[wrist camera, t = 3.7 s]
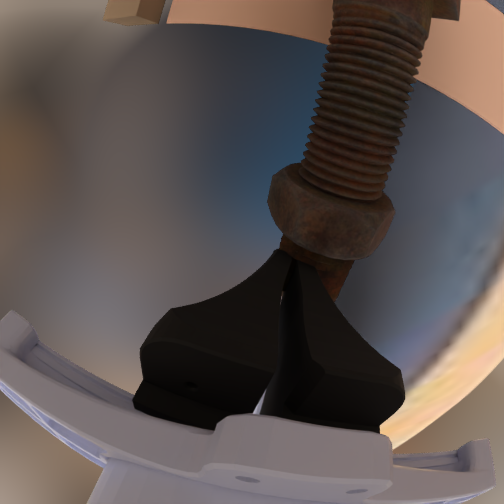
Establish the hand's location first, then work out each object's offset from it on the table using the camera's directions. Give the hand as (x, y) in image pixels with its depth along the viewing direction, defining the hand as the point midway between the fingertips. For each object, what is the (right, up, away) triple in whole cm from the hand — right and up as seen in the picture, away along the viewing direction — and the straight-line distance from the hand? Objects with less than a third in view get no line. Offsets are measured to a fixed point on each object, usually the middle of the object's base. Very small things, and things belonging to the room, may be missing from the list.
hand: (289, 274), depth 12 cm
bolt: (+2, +6, -1) cm, 7 cm away
